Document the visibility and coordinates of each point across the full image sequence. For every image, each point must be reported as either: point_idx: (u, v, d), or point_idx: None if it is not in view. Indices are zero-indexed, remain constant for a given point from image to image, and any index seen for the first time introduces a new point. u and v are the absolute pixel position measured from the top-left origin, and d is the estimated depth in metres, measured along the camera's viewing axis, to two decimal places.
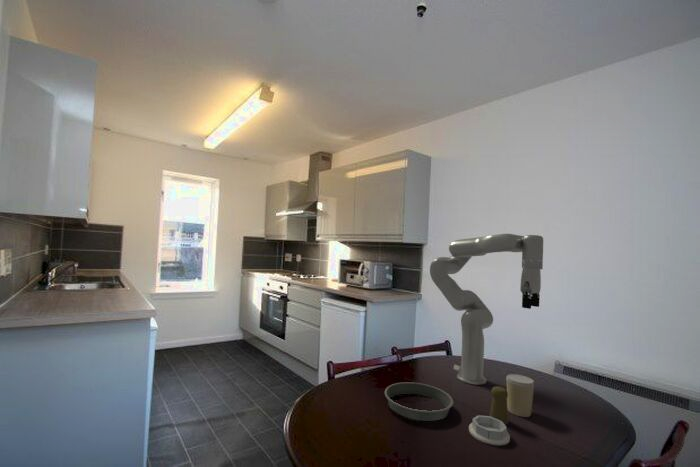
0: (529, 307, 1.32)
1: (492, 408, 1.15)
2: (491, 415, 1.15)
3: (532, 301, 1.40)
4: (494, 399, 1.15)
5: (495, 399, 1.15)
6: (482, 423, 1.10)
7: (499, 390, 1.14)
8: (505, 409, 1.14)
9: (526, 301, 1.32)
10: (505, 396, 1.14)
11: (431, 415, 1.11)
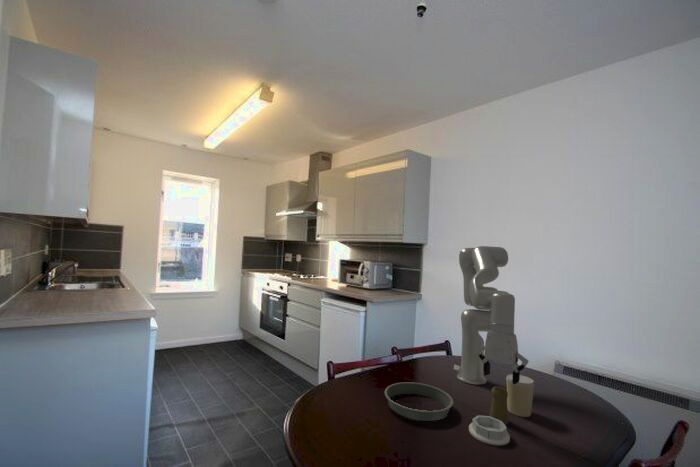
0: None
1: (492, 408, 1.15)
2: (491, 415, 1.15)
3: (487, 369, 1.18)
4: (494, 399, 1.15)
5: (495, 399, 1.15)
6: (482, 423, 1.10)
7: (499, 390, 1.14)
8: (505, 409, 1.14)
9: (518, 375, 1.12)
10: (505, 396, 1.14)
11: (431, 415, 1.11)
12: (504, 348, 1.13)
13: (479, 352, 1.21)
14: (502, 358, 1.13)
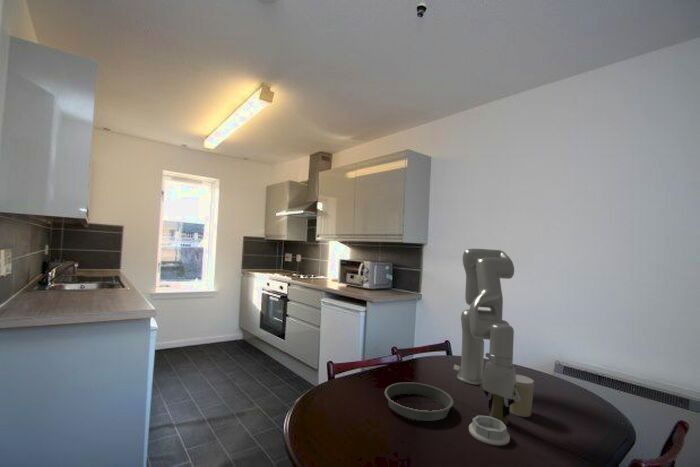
0: None
1: (492, 408, 1.15)
2: (491, 415, 1.15)
3: None
4: (494, 399, 1.15)
5: (495, 399, 1.15)
6: (482, 423, 1.10)
7: None
8: None
9: (509, 409, 1.13)
10: None
11: (431, 415, 1.11)
12: (502, 381, 1.13)
13: (483, 388, 1.20)
14: (500, 391, 1.13)
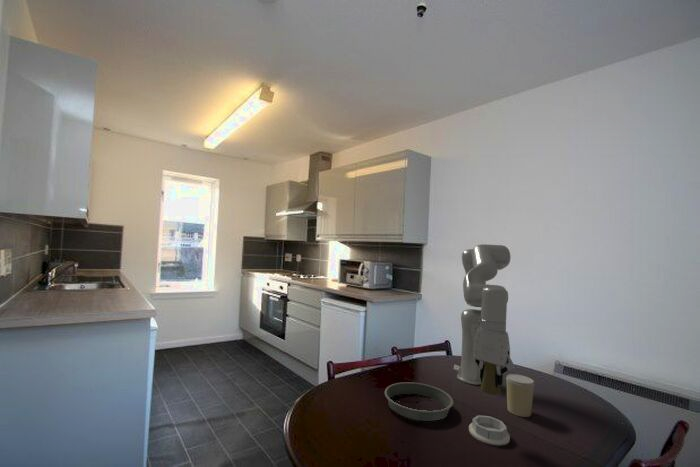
0: None
1: (483, 377, 1.06)
2: (482, 385, 1.06)
3: None
4: (486, 368, 1.06)
5: (487, 367, 1.06)
6: (482, 423, 1.10)
7: None
8: None
9: (501, 378, 1.05)
10: None
11: (431, 415, 1.11)
12: (495, 347, 1.04)
13: (474, 357, 1.11)
14: (492, 358, 1.04)
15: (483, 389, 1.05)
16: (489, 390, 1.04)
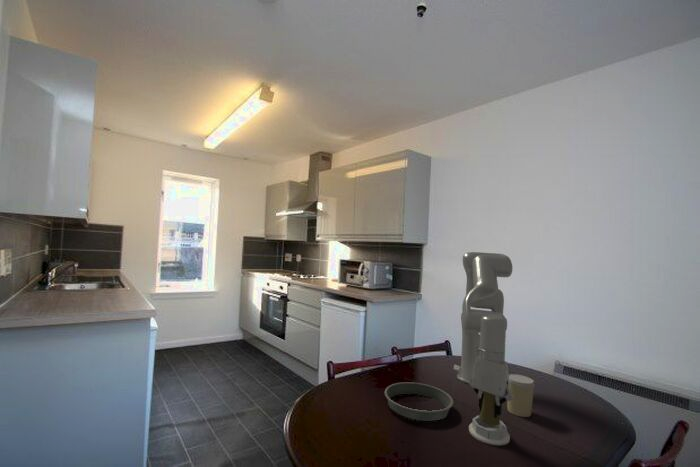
0: None
1: (482, 407, 1.06)
2: (481, 415, 1.06)
3: None
4: (484, 397, 1.06)
5: (486, 397, 1.05)
6: (482, 423, 1.10)
7: None
8: None
9: (500, 408, 1.04)
10: None
11: (431, 415, 1.11)
12: (493, 377, 1.03)
13: (473, 386, 1.10)
14: (491, 388, 1.04)
15: (482, 419, 1.05)
16: (488, 420, 1.04)
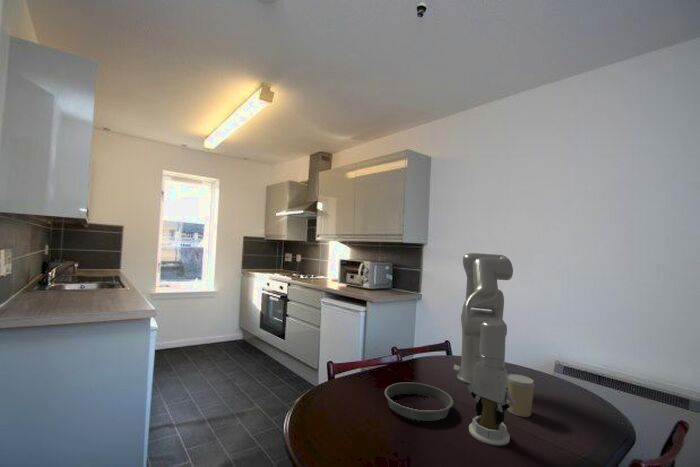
0: None
1: (482, 418, 1.06)
2: (481, 425, 1.06)
3: (479, 409, 1.08)
4: (484, 408, 1.06)
5: (485, 408, 1.05)
6: None
7: None
8: (496, 419, 1.04)
9: (503, 415, 1.03)
10: (496, 405, 1.04)
11: (431, 415, 1.11)
12: (493, 384, 1.03)
13: (470, 390, 1.11)
14: (491, 394, 1.03)
15: None
16: None
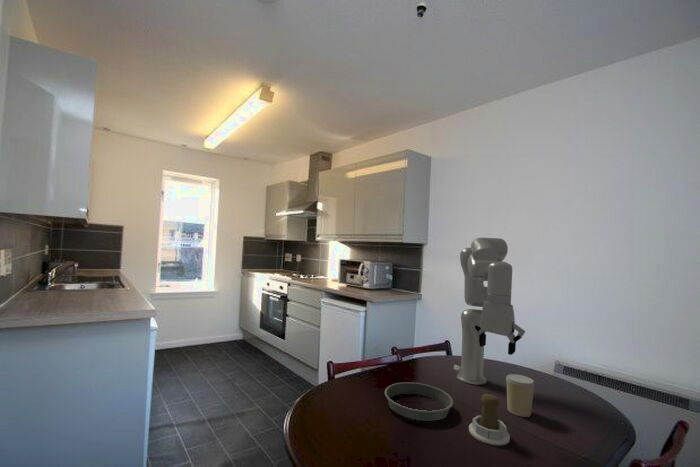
0: (513, 352, 1.10)
1: (482, 418, 1.06)
2: (481, 425, 1.06)
3: (482, 341, 1.16)
4: (484, 408, 1.06)
5: (485, 408, 1.05)
6: None
7: (489, 398, 1.05)
8: (496, 419, 1.04)
9: (514, 346, 1.09)
10: (496, 405, 1.04)
11: (431, 415, 1.11)
12: (500, 319, 1.10)
13: (475, 323, 1.18)
14: (498, 329, 1.10)
15: None
16: None
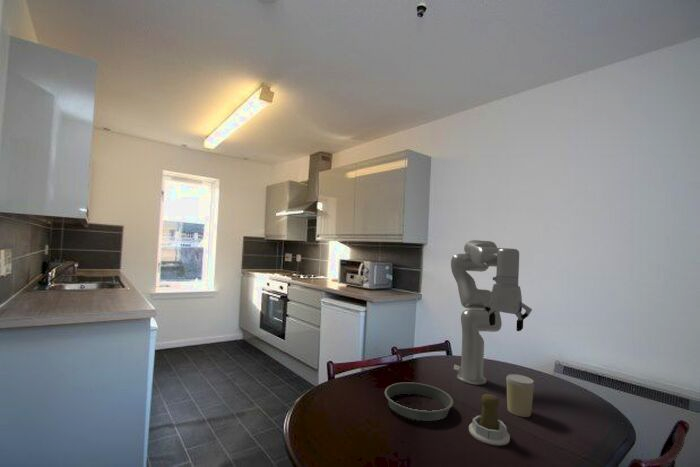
0: (521, 329, 1.21)
1: (482, 418, 1.06)
2: (481, 425, 1.06)
3: (492, 320, 1.27)
4: (484, 408, 1.06)
5: (485, 408, 1.05)
6: None
7: (489, 398, 1.05)
8: (496, 419, 1.04)
9: (522, 323, 1.20)
10: (496, 405, 1.04)
11: (431, 415, 1.11)
12: (509, 298, 1.21)
13: (485, 305, 1.29)
14: (507, 308, 1.21)
15: None
16: None
